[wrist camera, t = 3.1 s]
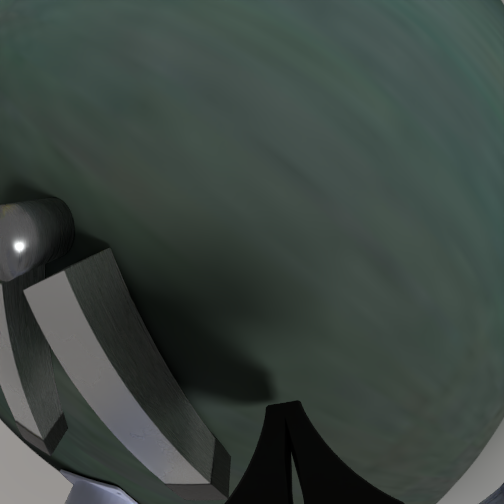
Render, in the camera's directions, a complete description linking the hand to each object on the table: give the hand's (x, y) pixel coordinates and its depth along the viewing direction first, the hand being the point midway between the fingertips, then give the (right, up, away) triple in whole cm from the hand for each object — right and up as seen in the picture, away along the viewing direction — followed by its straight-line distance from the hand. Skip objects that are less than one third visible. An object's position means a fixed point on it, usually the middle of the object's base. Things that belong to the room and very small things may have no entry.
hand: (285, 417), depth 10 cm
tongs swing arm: (-6, +1, +1) cm, 6 cm away
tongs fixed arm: (-13, +2, +1) cm, 13 cm away
